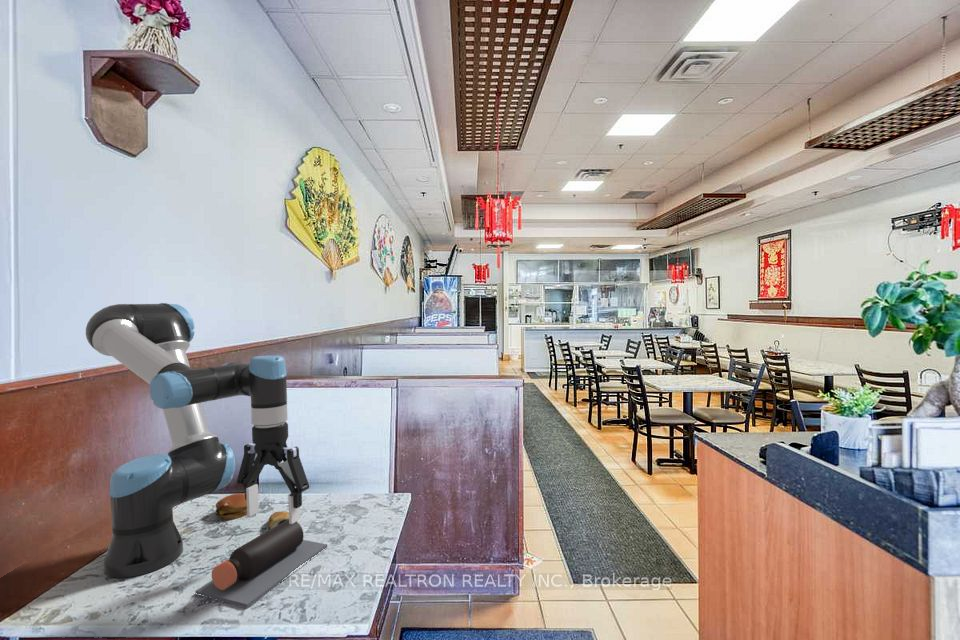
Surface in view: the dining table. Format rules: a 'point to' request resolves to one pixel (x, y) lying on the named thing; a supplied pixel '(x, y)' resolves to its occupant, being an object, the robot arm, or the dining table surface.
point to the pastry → (278, 518)
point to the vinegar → (258, 554)
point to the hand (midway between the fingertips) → (273, 517)
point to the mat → (263, 577)
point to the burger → (232, 507)
